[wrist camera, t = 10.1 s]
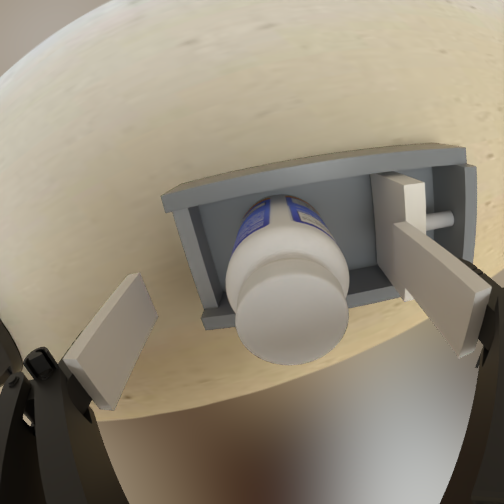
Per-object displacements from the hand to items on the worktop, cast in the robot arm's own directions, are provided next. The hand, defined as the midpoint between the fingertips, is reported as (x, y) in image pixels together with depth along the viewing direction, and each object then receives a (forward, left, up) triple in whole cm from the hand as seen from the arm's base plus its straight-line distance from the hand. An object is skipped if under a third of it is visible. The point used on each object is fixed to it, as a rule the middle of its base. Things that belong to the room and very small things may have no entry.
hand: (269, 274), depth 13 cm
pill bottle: (+1, 0, -6) cm, 6 cm away
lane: (+4, 0, -6) cm, 7 cm away
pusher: (+9, 0, -5) cm, 11 cm away
